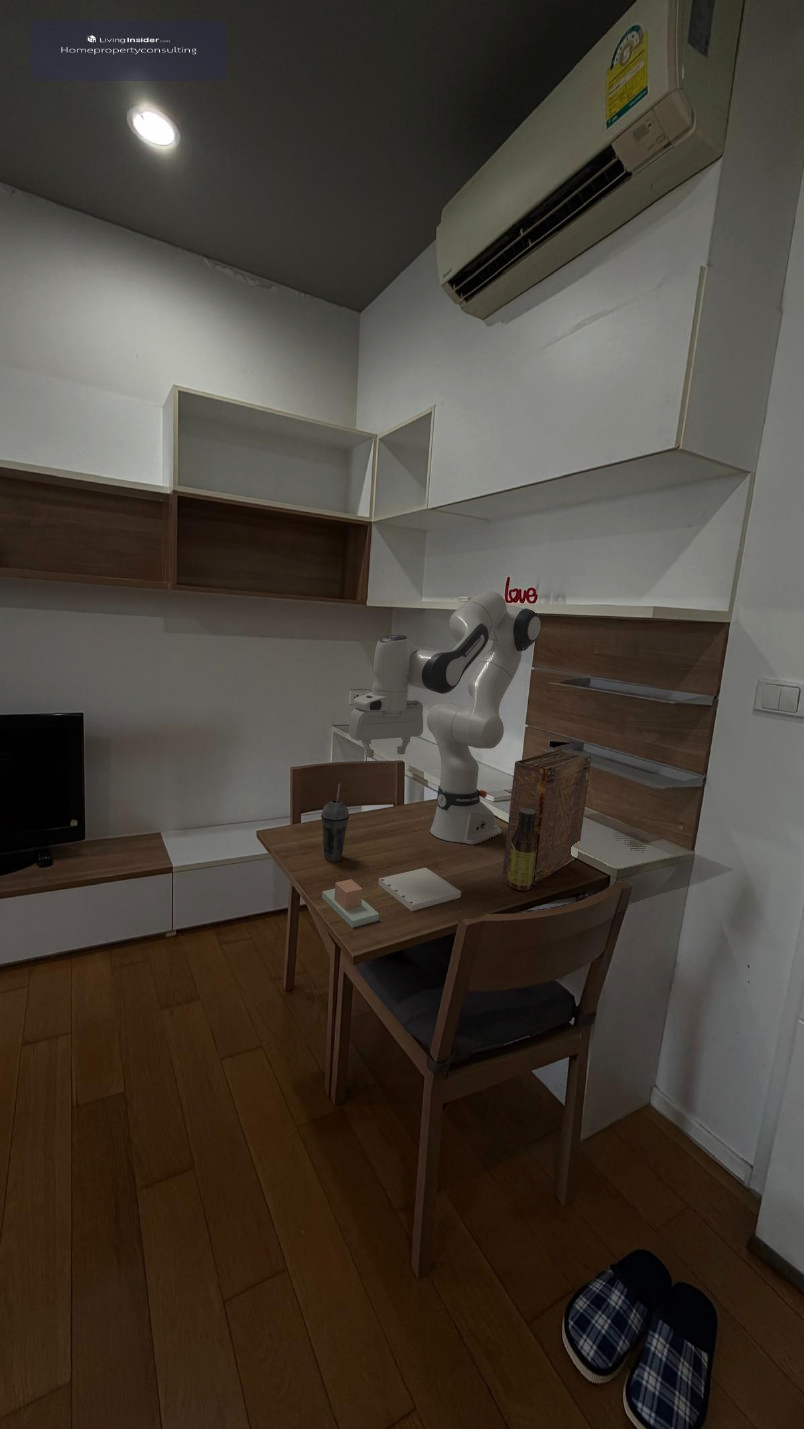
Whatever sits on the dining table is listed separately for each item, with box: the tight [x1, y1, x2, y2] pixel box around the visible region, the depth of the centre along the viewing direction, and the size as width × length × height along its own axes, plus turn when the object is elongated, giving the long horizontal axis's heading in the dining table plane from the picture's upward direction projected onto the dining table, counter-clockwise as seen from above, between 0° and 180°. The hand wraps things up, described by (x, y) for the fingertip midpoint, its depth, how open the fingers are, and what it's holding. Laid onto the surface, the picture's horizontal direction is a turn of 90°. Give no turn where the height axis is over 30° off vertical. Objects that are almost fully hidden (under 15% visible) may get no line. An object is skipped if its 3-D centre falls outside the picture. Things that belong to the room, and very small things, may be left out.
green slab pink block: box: [321, 878, 380, 929], centre depth 125 cm, size 6×14×6 cm, turn 34°
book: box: [502, 748, 592, 886], centre depth 153 cm, size 25×9×30 cm, turn 138°
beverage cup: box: [320, 783, 350, 862], centre depth 149 cm, size 7×7×20 cm
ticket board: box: [378, 867, 462, 912], centre depth 136 cm, size 14×14×2 cm
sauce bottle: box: [507, 808, 537, 892], centre depth 140 cm, size 7×6×20 cm
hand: (385, 755), depth 144 cm, fingers open, 8 cm apart
